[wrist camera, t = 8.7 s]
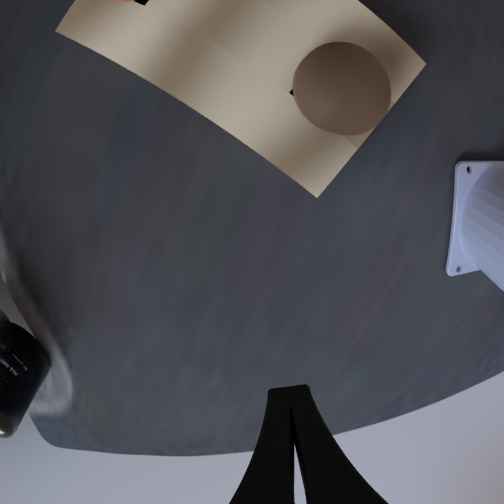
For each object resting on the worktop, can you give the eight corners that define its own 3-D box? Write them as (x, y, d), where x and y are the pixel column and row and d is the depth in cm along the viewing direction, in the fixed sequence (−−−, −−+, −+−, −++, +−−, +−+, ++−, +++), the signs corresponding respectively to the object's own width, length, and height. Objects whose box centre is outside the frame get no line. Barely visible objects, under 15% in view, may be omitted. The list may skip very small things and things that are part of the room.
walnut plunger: (356, 55, 13) (384, 43, 10) (365, 127, 15) (395, 133, 11) (280, 58, 13) (289, 43, 10) (291, 133, 15) (303, 139, 12)
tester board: (404, 67, 13) (426, 63, 11) (307, 185, 16) (317, 197, 14) (173, -75, 9) (163, -95, 7) (77, 38, 12) (55, 31, 10)
